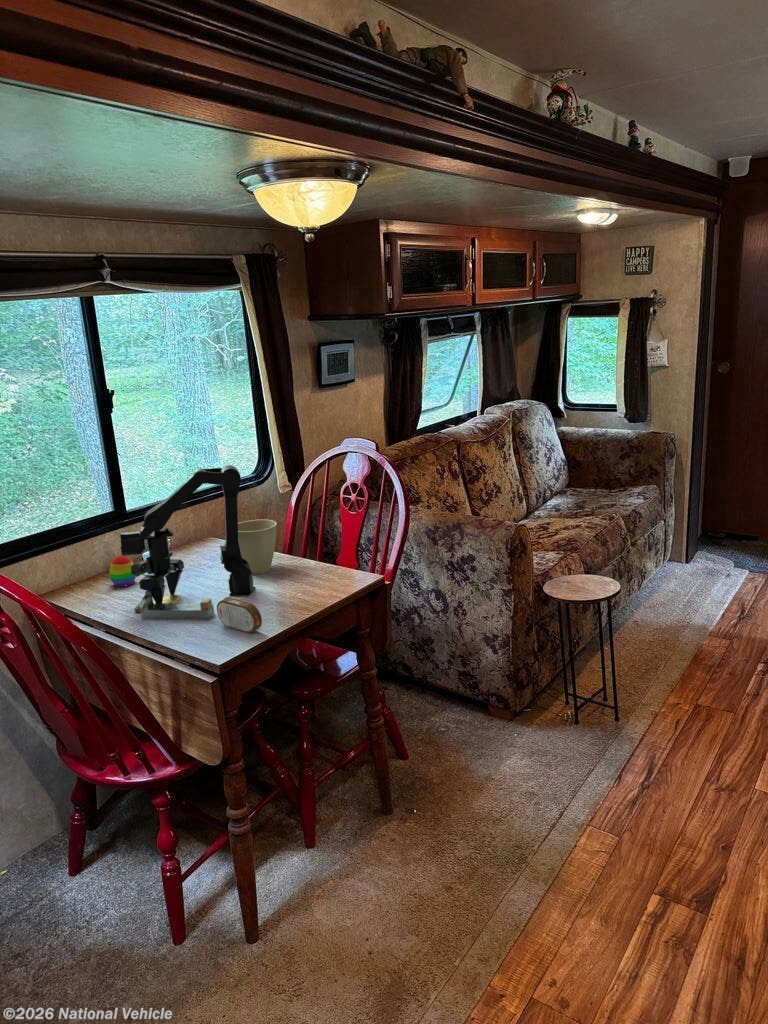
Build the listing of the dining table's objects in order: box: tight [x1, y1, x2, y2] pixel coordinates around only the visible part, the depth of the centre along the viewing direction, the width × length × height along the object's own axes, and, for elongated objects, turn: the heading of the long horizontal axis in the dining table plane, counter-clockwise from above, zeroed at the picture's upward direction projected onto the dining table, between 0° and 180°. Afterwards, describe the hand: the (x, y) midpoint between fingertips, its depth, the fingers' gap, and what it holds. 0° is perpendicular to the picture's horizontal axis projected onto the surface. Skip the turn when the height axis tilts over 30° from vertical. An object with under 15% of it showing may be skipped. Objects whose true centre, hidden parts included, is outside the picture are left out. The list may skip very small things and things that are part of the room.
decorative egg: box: [108, 554, 137, 587], centre depth 231 cm, size 8×8×10 cm
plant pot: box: [238, 519, 278, 575], centre depth 236 cm, size 15×15×16 cm
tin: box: [216, 596, 263, 634], centre depth 191 cm, size 15×3×8 cm, turn 55°
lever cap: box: [153, 594, 183, 604], centre depth 213 cm, size 7×6×2 cm
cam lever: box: [134, 590, 154, 615], centre depth 197 cm, size 12×2×5 cm, turn 3°
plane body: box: [140, 598, 215, 621], centre depth 202 cm, size 20×4×5 cm, turn 83°
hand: (166, 600), depth 213 cm, fingers open, 9 cm apart
